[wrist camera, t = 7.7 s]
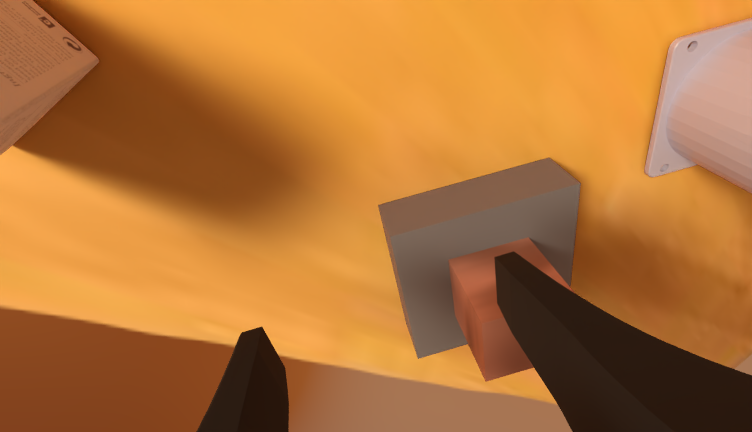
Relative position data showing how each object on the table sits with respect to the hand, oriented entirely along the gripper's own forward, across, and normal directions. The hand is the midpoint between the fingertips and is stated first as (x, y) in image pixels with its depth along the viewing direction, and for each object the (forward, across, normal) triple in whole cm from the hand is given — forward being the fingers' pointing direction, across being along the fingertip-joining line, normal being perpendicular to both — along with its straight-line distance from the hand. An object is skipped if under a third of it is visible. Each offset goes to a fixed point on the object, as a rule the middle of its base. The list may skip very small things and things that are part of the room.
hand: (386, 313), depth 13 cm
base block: (+10, -6, +8) cm, 15 cm away
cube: (+8, -6, +8) cm, 13 cm away
